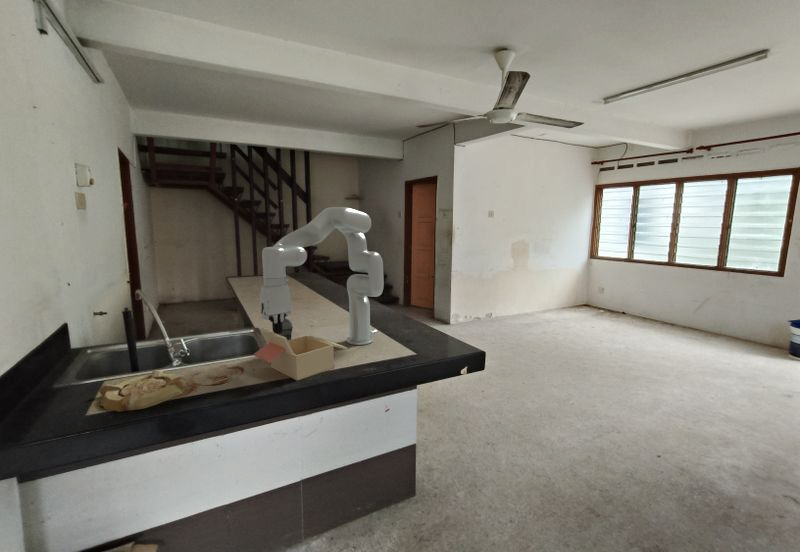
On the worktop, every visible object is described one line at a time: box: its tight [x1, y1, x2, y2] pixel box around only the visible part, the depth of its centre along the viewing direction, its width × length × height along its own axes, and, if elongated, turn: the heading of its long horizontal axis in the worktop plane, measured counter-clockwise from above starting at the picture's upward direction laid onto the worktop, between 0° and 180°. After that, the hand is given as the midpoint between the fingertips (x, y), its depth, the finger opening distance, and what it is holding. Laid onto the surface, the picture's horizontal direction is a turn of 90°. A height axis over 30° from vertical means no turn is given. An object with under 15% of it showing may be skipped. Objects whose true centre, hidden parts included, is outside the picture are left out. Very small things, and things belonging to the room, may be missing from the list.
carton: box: [270, 335, 335, 381], centre depth 143 cm, size 16×18×9 cm
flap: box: [253, 327, 294, 364], centre depth 132 cm, size 7×17×8 cm
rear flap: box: [308, 335, 348, 350], centre depth 151 cm, size 7×17×1 cm, turn 47°
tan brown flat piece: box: [98, 369, 188, 412], centre depth 121 cm, size 24×24×5 cm
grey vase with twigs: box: [278, 317, 293, 340], centre depth 156 cm, size 7×7×20 cm
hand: (277, 332), depth 134 cm, fingers closed
